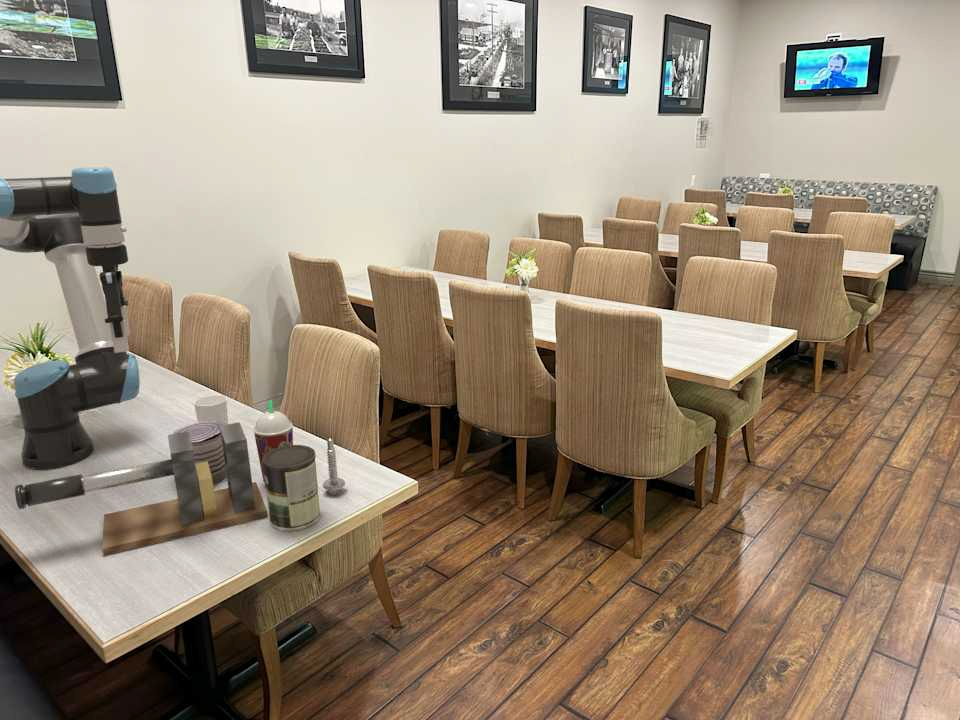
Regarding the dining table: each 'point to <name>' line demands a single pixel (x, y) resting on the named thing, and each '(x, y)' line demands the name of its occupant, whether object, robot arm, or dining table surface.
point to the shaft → (88, 483)
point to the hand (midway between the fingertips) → (122, 343)
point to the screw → (332, 471)
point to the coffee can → (291, 487)
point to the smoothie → (272, 433)
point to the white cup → (211, 409)
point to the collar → (206, 489)
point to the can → (208, 447)
